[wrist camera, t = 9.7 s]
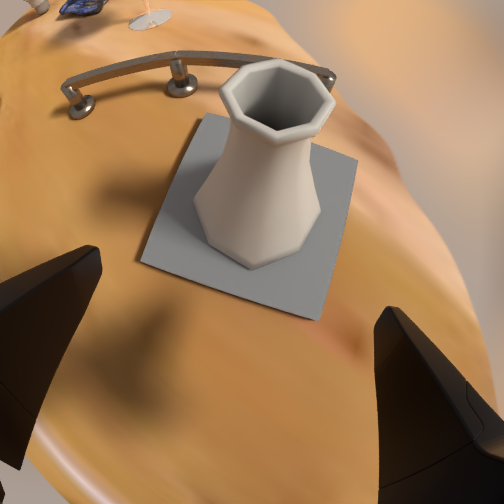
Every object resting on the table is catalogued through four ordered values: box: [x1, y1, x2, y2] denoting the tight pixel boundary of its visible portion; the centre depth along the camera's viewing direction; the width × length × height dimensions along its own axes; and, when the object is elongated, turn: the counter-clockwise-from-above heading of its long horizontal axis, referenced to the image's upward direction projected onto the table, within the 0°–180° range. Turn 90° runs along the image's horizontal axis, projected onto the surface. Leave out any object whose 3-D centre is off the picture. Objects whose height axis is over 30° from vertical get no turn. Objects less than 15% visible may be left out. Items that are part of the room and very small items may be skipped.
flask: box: [193, 58, 336, 271], centre depth 12 cm, size 7×7×10 cm
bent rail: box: [61, 51, 336, 120], centre depth 17 cm, size 4×22×4 cm, turn 88°
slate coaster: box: [140, 113, 358, 321], centre depth 17 cm, size 11×11×1 cm
